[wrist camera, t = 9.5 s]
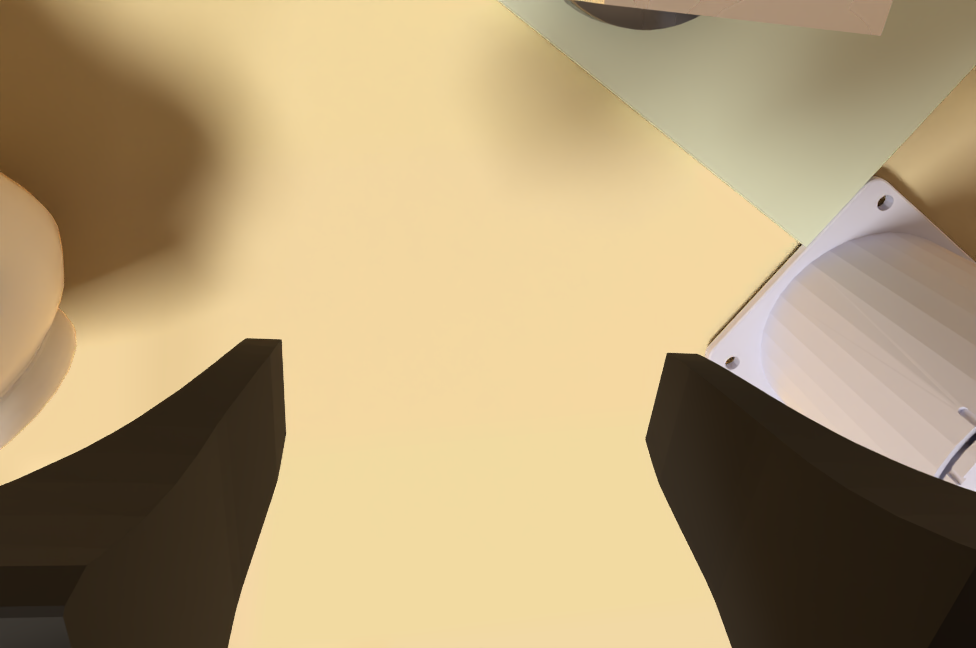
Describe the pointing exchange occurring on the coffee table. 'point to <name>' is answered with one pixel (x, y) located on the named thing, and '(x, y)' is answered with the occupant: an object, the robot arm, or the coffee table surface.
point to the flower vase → (30, 310)
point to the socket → (780, 11)
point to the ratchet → (630, 16)
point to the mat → (777, 94)
